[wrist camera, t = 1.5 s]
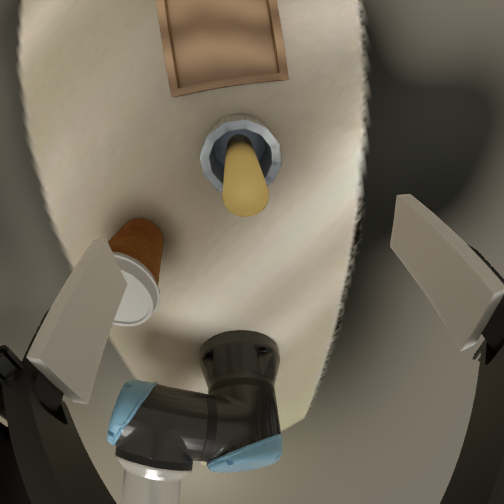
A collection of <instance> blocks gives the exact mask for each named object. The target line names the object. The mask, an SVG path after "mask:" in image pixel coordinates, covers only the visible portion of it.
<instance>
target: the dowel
mask: <svg viewBox="0 0 504 504" xmlns="http://www.w3.org/2000/svg"><path fill="white" fill-rule="evenodd" d="M268 199H269V191H268V187H267V185H266V182H265V179H264V176H263V173H262V170H261V168H260V165H259V162H258V159H257V157H256V154H255V151H254V148H253V146H252V143H251V141H250V139H249V138H248V137H247V136H245V135H242V134H237V135H234V136H232V137H231V138H230V139H229V140H228V142H227V146H226V157H225V169H224V182H223V202H224V205H225V206H226V208H227V209H228V210H229V211H230V212H231V213H233V214H235V215H237V216H242V217H249V216H253V215H256V214H258V213H259V212H261V211H262V210H263V209H264V208H265V206H266V205H267V202H268Z"/></svg>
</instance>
